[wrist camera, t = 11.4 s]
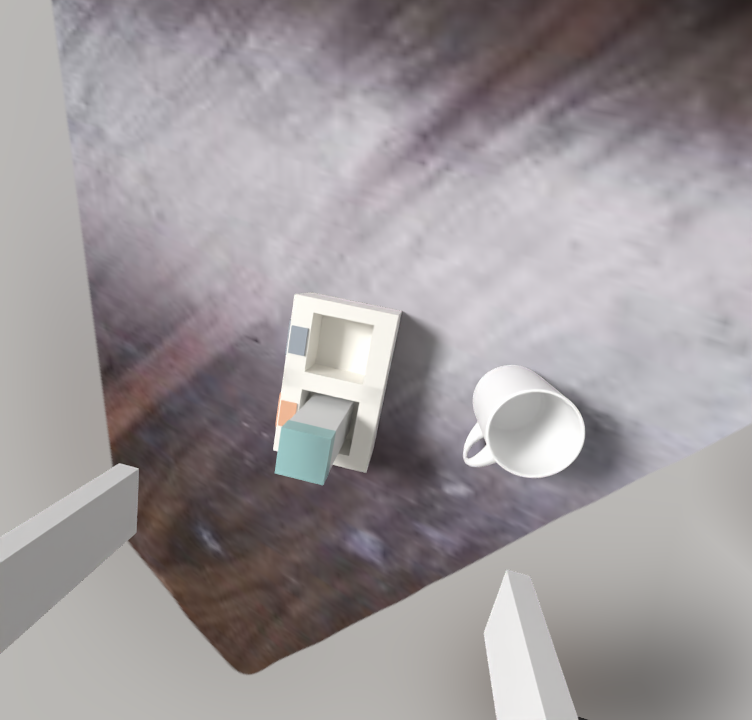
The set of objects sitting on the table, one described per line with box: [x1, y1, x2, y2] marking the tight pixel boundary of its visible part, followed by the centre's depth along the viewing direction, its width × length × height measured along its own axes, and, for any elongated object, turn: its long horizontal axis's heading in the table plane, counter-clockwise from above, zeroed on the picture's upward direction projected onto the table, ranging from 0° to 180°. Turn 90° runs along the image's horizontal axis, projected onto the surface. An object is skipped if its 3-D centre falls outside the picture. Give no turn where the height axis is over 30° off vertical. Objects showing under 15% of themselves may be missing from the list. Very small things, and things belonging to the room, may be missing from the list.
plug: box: [275, 392, 355, 485], centre depth 39 cm, size 5×5×12 cm
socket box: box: [273, 292, 402, 473], centre depth 43 cm, size 18×11×6 cm, turn 169°
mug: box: [463, 365, 585, 478], centre depth 39 cm, size 9×12×11 cm
